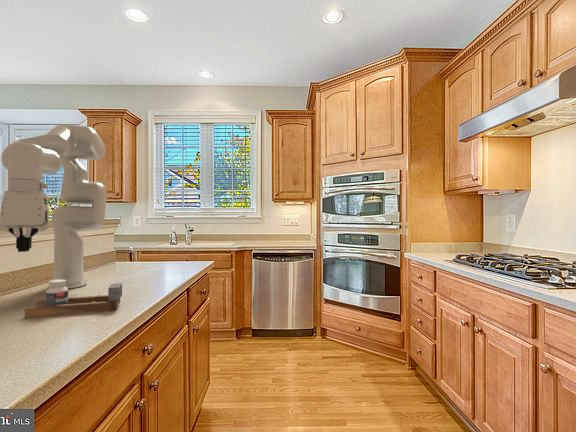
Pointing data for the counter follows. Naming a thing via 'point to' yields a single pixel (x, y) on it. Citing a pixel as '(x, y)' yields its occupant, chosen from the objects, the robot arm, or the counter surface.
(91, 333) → the counter surface
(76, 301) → the beam
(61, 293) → the pill bottle
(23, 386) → the counter surface
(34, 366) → the counter surface
